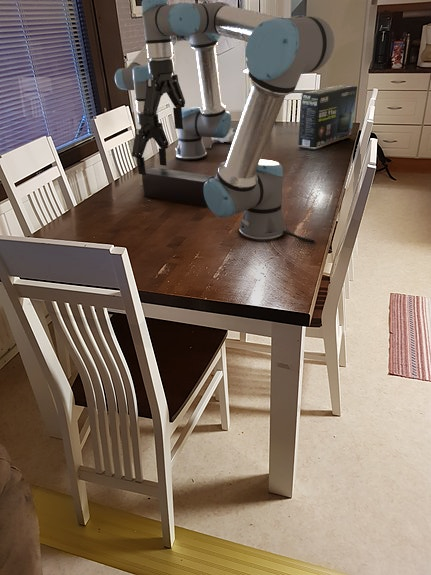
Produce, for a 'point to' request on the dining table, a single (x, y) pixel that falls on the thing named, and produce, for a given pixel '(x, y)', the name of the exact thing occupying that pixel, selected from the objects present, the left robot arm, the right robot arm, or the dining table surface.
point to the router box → (326, 115)
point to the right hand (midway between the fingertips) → (167, 133)
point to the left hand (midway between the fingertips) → (153, 169)
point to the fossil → (229, 136)
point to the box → (175, 186)
